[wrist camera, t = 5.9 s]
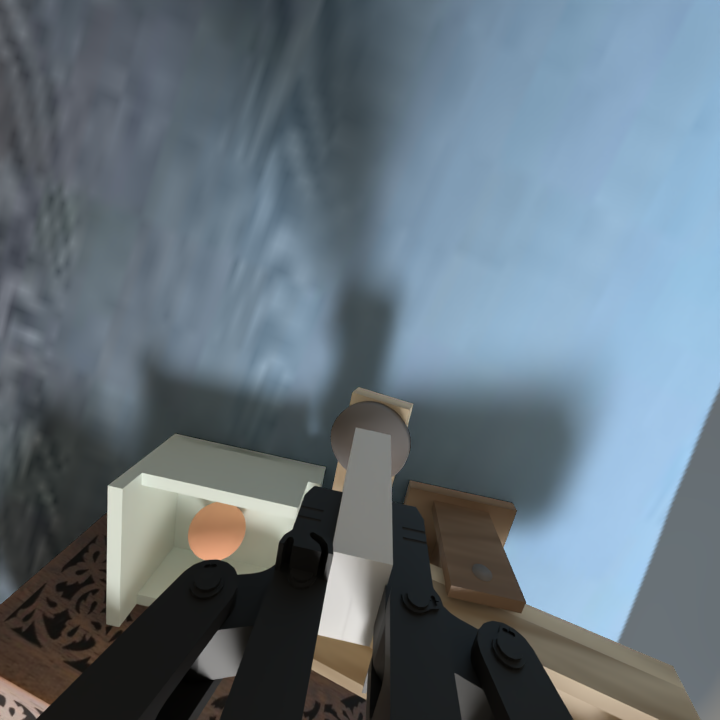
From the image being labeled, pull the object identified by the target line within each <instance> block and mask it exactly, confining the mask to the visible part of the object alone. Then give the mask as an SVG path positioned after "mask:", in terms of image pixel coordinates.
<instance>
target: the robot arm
mask: <svg viewBox="0 0 720 720" xmlns="http://www.w3.org/2000/svg"><path fill="white" fill-rule="evenodd" d="M318 635H321V636H325V637H330V638H334V639H338V640H343V641H347V642H351V643H356V644H360V645H364V646H369V647H370V644H371V641H372V637H373V653H372V657H371V661H370V664H369V668H368V671H367V675H366V678H365V682H364V686H363V690H362V693H365V694H366V693H367V700H366V719H365V720H574V719H573V718H572V716H571V714H570V712H569V711H568V709H567V707H566V705H565V704H564V702H563V700H562V698H561V697H560V695H559V693H558V692H557V690H556V688H555V686H554V685H553V683H552V681H551V679H550V678H549V676H548V674H547V672H546V671H545V669H544V667H543V665H542V664H541V662H540V660H539V658H538V657H537V655H536V653H535V651H534V650H533V648H532V647H531V646H530V644H529V643H528V642H527V640H526V639H525V638H524V637H523V636H522V635H521V634H520V633H519V632H517V631H516V630H515V629H514V628H512V627H510V626H508V625H506V624H504V623H502V622H497V621H489V622H486V623H483V625H482V626H481V627H480V628H479V629H477V628H475V627H473V626H471V625H470V624H468V623H466V622H464V621H462V620H460V619H459V618H457V617H456V616H454V615H453V614H451V613H450V612H449V611H448V610H447V609H446V608H445V607H444V606H443V604H442V601H441V598H440V596H439V595H438V594H437V592H436V591H435V590H434V588H433V583H432V576H431V569H430V561H429V554H428V547H427V540H426V534H425V525H424V519H423V517H422V516H421V514H420V513H419V511H418V509H417V508H416V507H413V506H409V505H404V504H400V503H395V502H392V477H391V435H388V434H384V433H379V432H374V431H370V430H365V429H361V428H356V429H355V434H354V438H353V443H352V448H351V452H350V457H349V461H348V466H347V471H346V475H345V480H344V485H343V490H342V492H340V491H336V490H331V489H327V488H322V487H318V486H314V487H312V488H311V489H310V490H309V491H308V492H307V493H306V494H305V495H304V498H303V501H302V504H301V507H300V509H299V512H298V515H297V518H296V521H295V523H294V526H293V529H292V530H291V531H289V532H288V533H286V534H284V536H283V537H282V539H281V540H280V541H279V545H278V551H277V557H276V563H275V565H274V566H272V567H271V568H269V569H267V570H264V571H262V572H257V573H251V574H239V575H237V572H236V570H235V568H234V567H233V566H231V565H230V564H229V563H228V562H225V561H221V560H217V559H214V560H204V561H201V562H199V563H196V564H194V565H192V566H191V567H189V568H188V569H187V570H185V571H184V572H183V573H182V574H181V575H180V576H179V577H178V578H177V579H176V580H175V581H174V582H173V583H172V584H171V585H170V586H169V587H168V588H167V589H166V590H165V591H164V592H163V593H162V594H161V595H160V596H159V597H158V598H157V599H156V600H155V601H154V602H153V603H152V604H151V605H150V606H149V607H148V608H147V609H146V610H145V611H144V612H143V613H142V614H141V615H140V616H139V617H138V618H137V619H136V620H135V621H134V622H133V623H132V624H131V625H130V626H129V627H128V628H127V629H126V630H125V631H124V632H123V633H122V634H121V635H120V636H119V637H118V638H117V639H116V640H115V641H114V642H113V643H112V644H111V645H110V646H109V647H108V648H107V649H106V650H105V651H104V652H103V653H102V654H101V655H100V656H99V657H98V658H97V659H96V660H95V661H94V662H93V663H92V664H91V665H90V666H89V667H88V668H87V669H86V670H85V671H84V672H83V673H82V674H81V675H80V676H79V677H78V678H77V679H76V680H75V681H74V682H73V683H72V684H71V685H70V686H69V687H68V688H67V689H66V690H65V691H64V692H63V693H62V694H61V695H60V696H59V697H58V698H57V699H56V700H55V701H54V702H53V703H52V704H51V705H50V706H49V707H48V708H47V709H46V710H45V711H44V712H43V713H42V714H41V715H40V716H39V717H38V718H37V719H36V720H197V718H198V717H199V715H200V714H201V712H202V711H203V709H204V707H205V706H206V704H207V703H208V701H209V700H210V698H211V696H212V695H213V693H214V692H215V690H216V688H217V687H218V685H219V684H220V682H221V681H222V679H223V678H226V677H232V676H235V679H234V681H233V684H232V687H231V689H230V692H229V695H228V698H227V700H226V703H225V706H224V709H223V711H222V714H221V717H220V719H219V720H302V717H303V711H304V706H305V700H306V695H307V690H308V684H309V679H310V674H311V668H312V663H313V657H314V652H315V647H316V641H317V636H318Z"/></svg>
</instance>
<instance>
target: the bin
mask: <svg viewBox="0 0 720 720" xmlns="http://www.w3.org/2000/svg"><path fill="white" fill-rule="evenodd" d="M325 470H326V467H324V466H319V465H315V464H310V463H306V462H301V461H297V460H292V459H288V458H283V457H278V456H274V455H269V454H265V453H260V452H256V451H251V450H247V449H242V448H238V447H233V446H229V445H224V444H220V443H215V442H211V441H206V440H202V439H197V438H193V437H188V436H184V435H179V434H174V435H173V436H172V437H170V438H169V439H168V440H166V441H165V442H164V443H162V444H161V445H160V446H159V447H157V448H156V449H155V450H153V451H152V452H151V453H149V454H148V455H147V456H146V457H144V458H143V459H142V460H140V461H139V462H138V463H136V464H135V465H134V466H133V467H131V468H130V469H129V470H127V471H126V472H125V473H123V474H122V475H121V476H120V477H118V478H117V479H116V480H114V481H113V482H112V483H110V484H109V485H108V511H107V591H106V624H107V625H112V626H116V627H120V625H121V624H122V623H123V621H124V620H125V619H126V617H127V616H128V615H129V613H130V612H131V611H132V609H133V608H134V607H135V605H136V604H139V605H144V606H148V607H149V606H150V605H151V604H152V603H153V602H154V601H155V600H156V599H157V598H158V597H159V596H160V595H161V594H162V593H163V592H164V591H165V590H166V589H167V588H168V587H169V586H170V585H171V584H172V583H173V582H174V581H175V580H176V579H177V578H178V577H179V576H180V575H181V574H182V573H183V572H184V571H185V570H187V569H188V568H189V567H191V566H192V565H194V564H196V563H199V562H201V561H204V560H203V559H201V558H199V557H197V556H196V555H195V554H194V553H193V551H192V550H191V548H190V546H189V542H188V531H189V527H190V524H191V522H192V520H193V518H194V517H195V515H196V514H197V513H198V512H199V511H200V510H201V509H202V508H204V507H205V506H207V505H209V504H211V503H215V502H219V503H224V504H228V505H233V506H237V507H238V508H239V509H240V510H241V512H242V513H243V515H244V518H245V522H246V531H245V536H244V539H243V541H242V543H241V544H240V546H239V547H238V549H237V550H236V551H235V552H234V553H232V554H231V555H230V556H228V557H227V558H224V559H222V560H221V561H225V562H228V563H229V564H230V565H231V566H233V567H234V568H235V570H236V572H237V575H239V574H251V573H257V572H262V571H264V570H267V569H269V568H271V567H272V566H274V565H275V563H276V557H277V551H278V545H279V541H280V540H281V539H282V537H283V536H284V534H286V533H288V532H289V531H291V530H292V529H293V526H294V523H295V521H296V518H297V515H298V512H299V509H300V507H301V504H302V501H303V498H304V495H305V494H306V493H307V492H308V491H309V490H310V489H311V488H312V487H314V486H318V487H322V485H323V480H324V475H325Z"/></svg>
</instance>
